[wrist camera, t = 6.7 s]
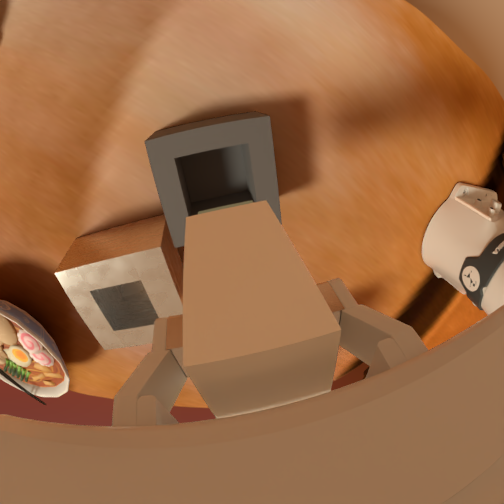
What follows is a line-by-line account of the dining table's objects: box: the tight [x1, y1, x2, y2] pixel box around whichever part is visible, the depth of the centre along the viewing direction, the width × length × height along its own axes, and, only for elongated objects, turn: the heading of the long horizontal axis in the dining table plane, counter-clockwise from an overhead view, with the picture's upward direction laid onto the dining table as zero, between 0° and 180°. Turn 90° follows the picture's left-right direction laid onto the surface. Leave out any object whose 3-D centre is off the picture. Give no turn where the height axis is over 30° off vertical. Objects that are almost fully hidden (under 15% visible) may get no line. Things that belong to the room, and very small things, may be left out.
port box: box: [55, 215, 184, 350], centre depth 29 cm, size 12×12×7 cm
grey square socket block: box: [145, 111, 282, 248], centre depth 25 cm, size 10×10×6 cm
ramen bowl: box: [0, 300, 70, 405], centre depth 30 cm, size 25×23×8 cm
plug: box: [183, 200, 341, 419], centre depth 12 cm, size 4×4×10 cm
